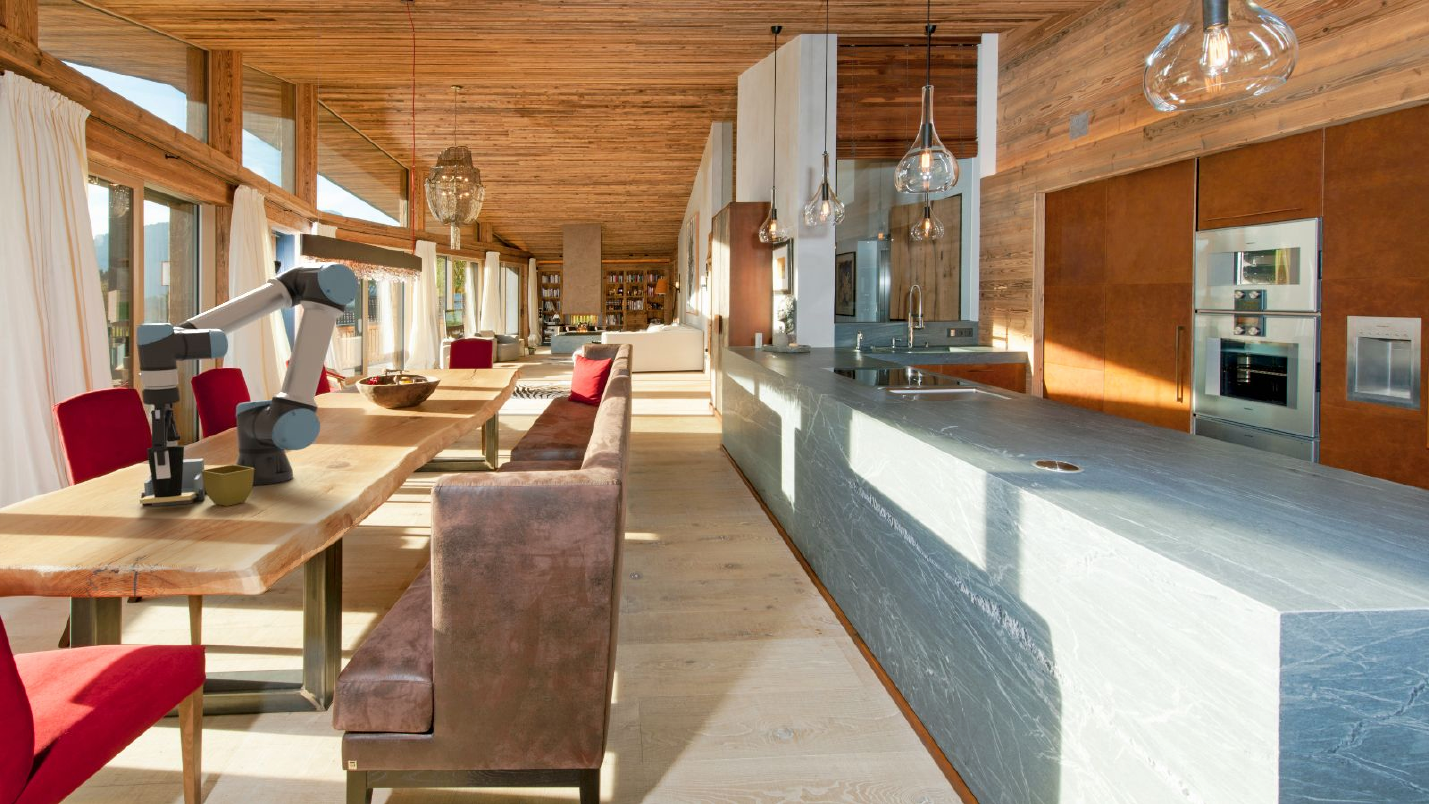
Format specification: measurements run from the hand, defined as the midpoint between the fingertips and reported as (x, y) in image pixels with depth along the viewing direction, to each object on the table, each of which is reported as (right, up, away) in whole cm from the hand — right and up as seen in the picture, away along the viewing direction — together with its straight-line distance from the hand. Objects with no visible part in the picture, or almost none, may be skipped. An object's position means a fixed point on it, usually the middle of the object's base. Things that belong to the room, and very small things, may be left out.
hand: (168, 472), depth 204 cm
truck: (-5, -8, +11) cm, 14 cm away
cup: (0, -6, 0) cm, 6 cm away
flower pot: (+11, -9, +7) cm, 16 cm away
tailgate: (-2, -6, +5) cm, 8 cm away
